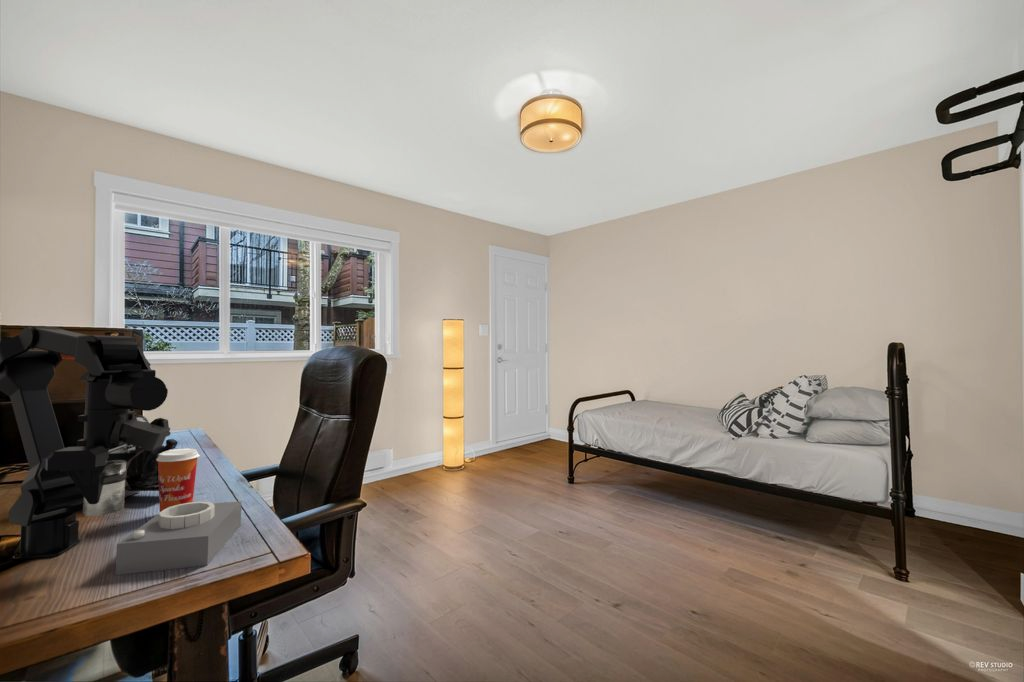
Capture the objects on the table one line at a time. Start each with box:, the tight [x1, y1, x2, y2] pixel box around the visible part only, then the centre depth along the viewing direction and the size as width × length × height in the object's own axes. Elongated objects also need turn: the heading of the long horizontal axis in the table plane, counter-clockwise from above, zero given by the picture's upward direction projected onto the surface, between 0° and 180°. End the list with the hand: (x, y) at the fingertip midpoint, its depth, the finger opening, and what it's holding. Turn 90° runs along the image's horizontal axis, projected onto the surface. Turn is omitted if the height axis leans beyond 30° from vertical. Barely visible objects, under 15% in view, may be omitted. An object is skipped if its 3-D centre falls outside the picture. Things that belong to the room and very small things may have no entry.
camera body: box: [115, 500, 242, 576], centre depth 82 cm, size 13×18×7 cm
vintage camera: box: [125, 414, 179, 498], centre depth 108 cm, size 10×16×20 cm, turn 89°
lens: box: [82, 460, 127, 517], centre depth 75 cm, size 5×5×8 cm
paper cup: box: [156, 448, 201, 513], centre depth 98 cm, size 8×8×14 cm
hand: (104, 498), depth 75 cm, fingers closed on lens, 5 cm apart
